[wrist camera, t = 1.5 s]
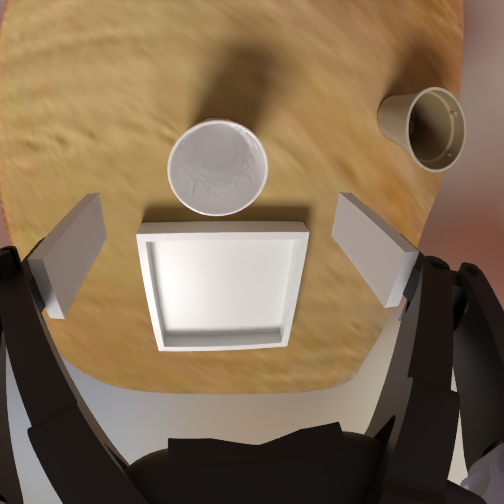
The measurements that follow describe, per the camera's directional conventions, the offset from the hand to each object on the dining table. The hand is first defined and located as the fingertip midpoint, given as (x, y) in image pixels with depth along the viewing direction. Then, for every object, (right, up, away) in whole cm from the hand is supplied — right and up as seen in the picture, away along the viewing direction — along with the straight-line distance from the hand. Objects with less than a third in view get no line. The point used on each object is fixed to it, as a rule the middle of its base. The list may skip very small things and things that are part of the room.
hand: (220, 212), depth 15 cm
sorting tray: (-3, -7, +25) cm, 26 cm away
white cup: (-2, +10, +15) cm, 18 cm away
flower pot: (+20, +15, +15) cm, 29 cm away
